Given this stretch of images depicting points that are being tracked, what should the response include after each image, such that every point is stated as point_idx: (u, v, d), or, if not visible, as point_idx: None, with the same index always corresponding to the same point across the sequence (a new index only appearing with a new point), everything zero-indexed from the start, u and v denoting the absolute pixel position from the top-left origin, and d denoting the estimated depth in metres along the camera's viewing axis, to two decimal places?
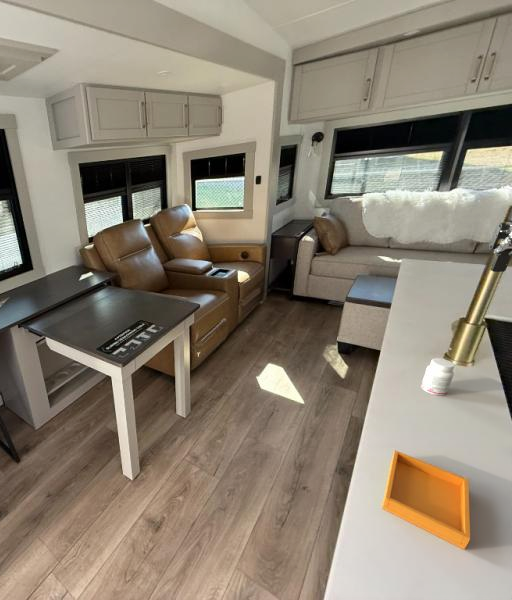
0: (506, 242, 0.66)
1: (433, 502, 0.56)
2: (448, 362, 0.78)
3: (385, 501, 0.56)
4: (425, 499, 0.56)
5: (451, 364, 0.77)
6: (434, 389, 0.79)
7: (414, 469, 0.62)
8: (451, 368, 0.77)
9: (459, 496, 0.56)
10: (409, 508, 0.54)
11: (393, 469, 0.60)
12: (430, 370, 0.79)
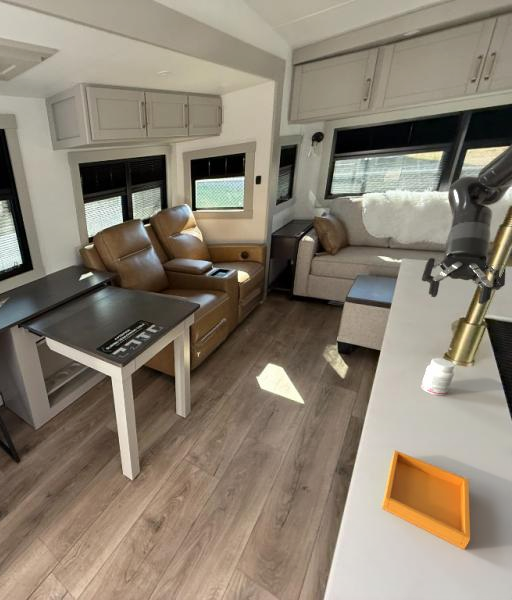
0: None
1: (433, 502, 0.56)
2: (448, 362, 0.78)
3: (385, 501, 0.56)
4: (425, 499, 0.56)
5: (451, 364, 0.77)
6: (434, 389, 0.79)
7: (414, 469, 0.62)
8: (451, 368, 0.77)
9: (459, 496, 0.56)
10: (409, 508, 0.54)
11: (393, 469, 0.60)
12: (430, 370, 0.79)
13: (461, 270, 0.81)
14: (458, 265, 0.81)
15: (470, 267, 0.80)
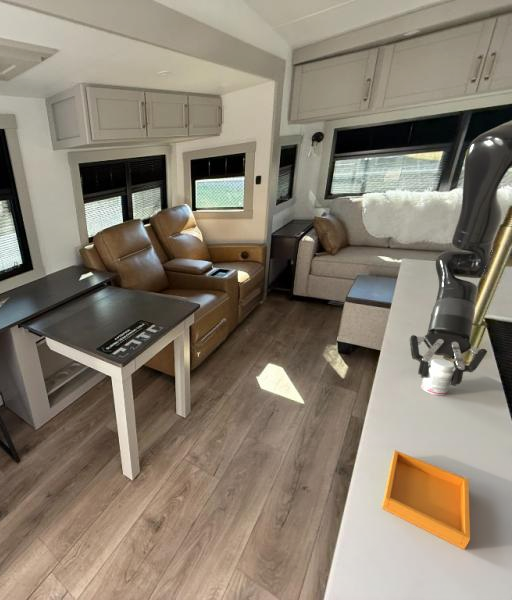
0: None
1: (433, 502, 0.56)
2: (448, 362, 0.78)
3: (385, 501, 0.56)
4: (425, 499, 0.56)
5: (451, 364, 0.77)
6: (434, 389, 0.79)
7: (414, 469, 0.62)
8: (451, 368, 0.77)
9: (459, 496, 0.56)
10: (409, 508, 0.54)
11: (393, 469, 0.60)
12: (430, 370, 0.79)
13: (443, 348, 0.80)
14: (440, 342, 0.80)
15: (451, 345, 0.79)
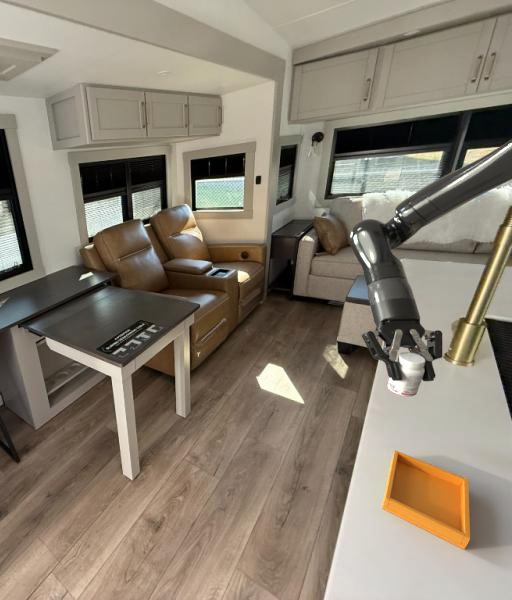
0: None
1: (433, 502, 0.56)
2: (415, 355, 0.65)
3: (385, 501, 0.56)
4: (425, 499, 0.56)
5: (420, 357, 0.64)
6: (409, 391, 0.65)
7: (414, 469, 0.62)
8: (424, 363, 0.63)
9: (459, 496, 0.56)
10: (409, 508, 0.54)
11: (393, 469, 0.60)
12: (403, 371, 0.64)
13: (403, 339, 0.66)
14: (399, 334, 0.66)
15: (410, 334, 0.66)
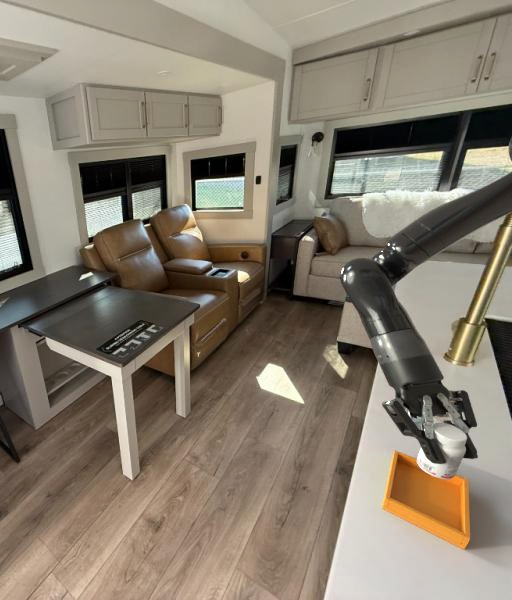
0: None
1: (433, 502, 0.56)
2: (450, 427, 0.52)
3: (385, 501, 0.56)
4: (425, 499, 0.56)
5: (458, 430, 0.51)
6: (451, 473, 0.52)
7: (414, 469, 0.62)
8: None
9: (459, 496, 0.56)
10: (409, 508, 0.54)
11: (393, 469, 0.60)
12: (444, 450, 0.51)
13: (432, 407, 0.53)
14: (428, 401, 0.53)
15: (438, 399, 0.53)
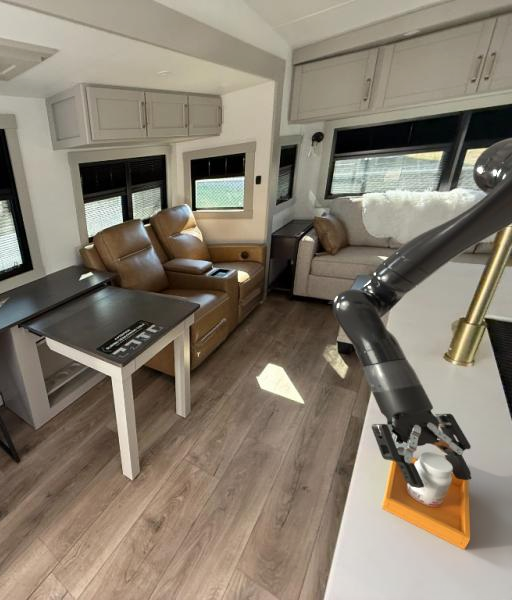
0: None
1: None
2: (437, 457, 0.55)
3: (385, 501, 0.56)
4: None
5: (444, 460, 0.54)
6: (438, 501, 0.54)
7: None
8: None
9: (459, 496, 0.56)
10: (409, 508, 0.54)
11: (393, 469, 0.60)
12: (431, 480, 0.54)
13: (421, 436, 0.56)
14: (418, 431, 0.55)
15: (429, 429, 0.56)
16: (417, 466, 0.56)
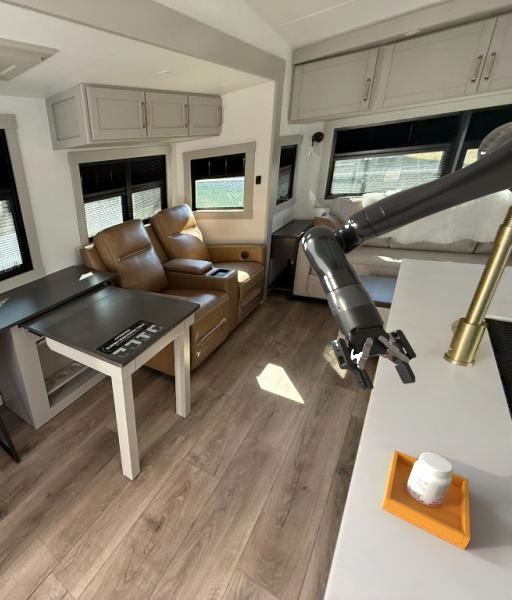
0: None
1: None
2: (437, 457, 0.55)
3: (385, 501, 0.56)
4: None
5: (444, 460, 0.54)
6: (438, 501, 0.54)
7: None
8: None
9: (459, 496, 0.56)
10: (409, 508, 0.54)
11: (393, 469, 0.60)
12: (431, 480, 0.54)
13: (373, 347, 0.63)
14: (370, 342, 0.63)
15: (380, 341, 0.63)
16: (417, 466, 0.56)
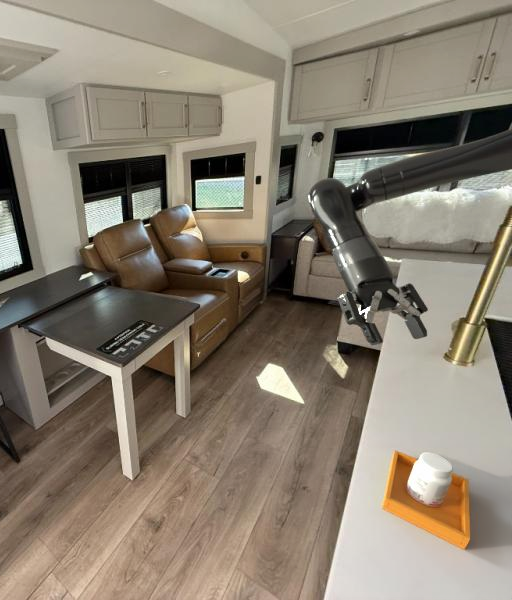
0: None
1: None
2: (437, 457, 0.55)
3: (385, 501, 0.56)
4: None
5: (444, 460, 0.54)
6: (438, 501, 0.54)
7: None
8: None
9: (459, 496, 0.56)
10: (409, 508, 0.54)
11: (393, 469, 0.60)
12: (431, 480, 0.54)
13: (382, 301, 0.60)
14: (379, 295, 0.59)
15: (389, 295, 0.60)
16: (417, 466, 0.56)
